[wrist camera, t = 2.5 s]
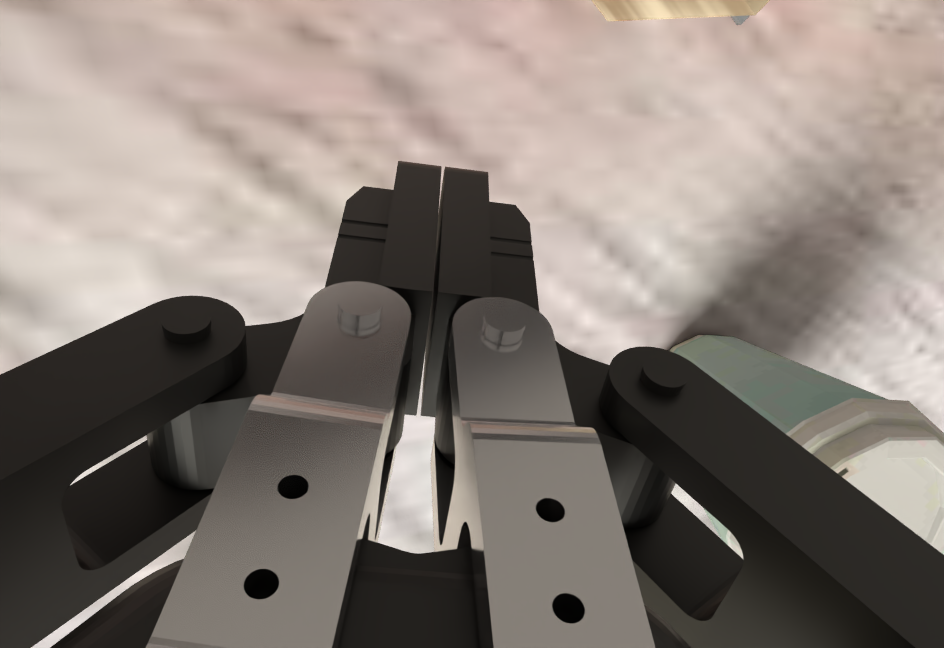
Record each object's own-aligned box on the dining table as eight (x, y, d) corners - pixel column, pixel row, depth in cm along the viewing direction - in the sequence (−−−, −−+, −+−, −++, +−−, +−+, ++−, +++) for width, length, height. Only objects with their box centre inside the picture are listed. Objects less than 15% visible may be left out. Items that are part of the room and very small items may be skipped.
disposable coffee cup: (802, 392, 47) (1023, 538, 33) (661, 501, 47) (824, 691, 34) (725, 261, 43) (944, 368, 29) (571, 383, 43) (715, 546, 29)
